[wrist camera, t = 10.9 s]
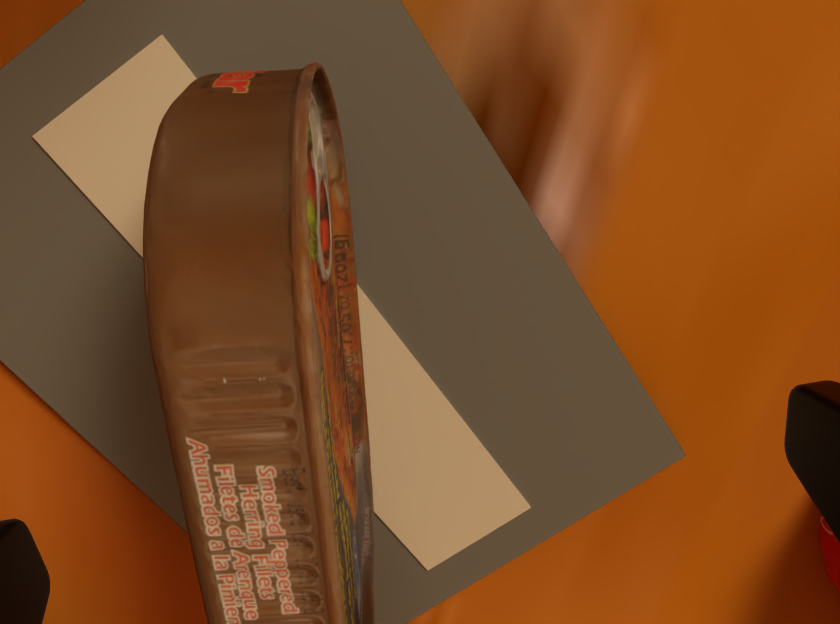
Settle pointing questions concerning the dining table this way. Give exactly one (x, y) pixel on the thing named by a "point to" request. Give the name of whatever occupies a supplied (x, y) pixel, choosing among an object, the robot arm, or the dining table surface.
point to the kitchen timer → (830, 552)
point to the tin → (262, 347)
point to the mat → (375, 271)
